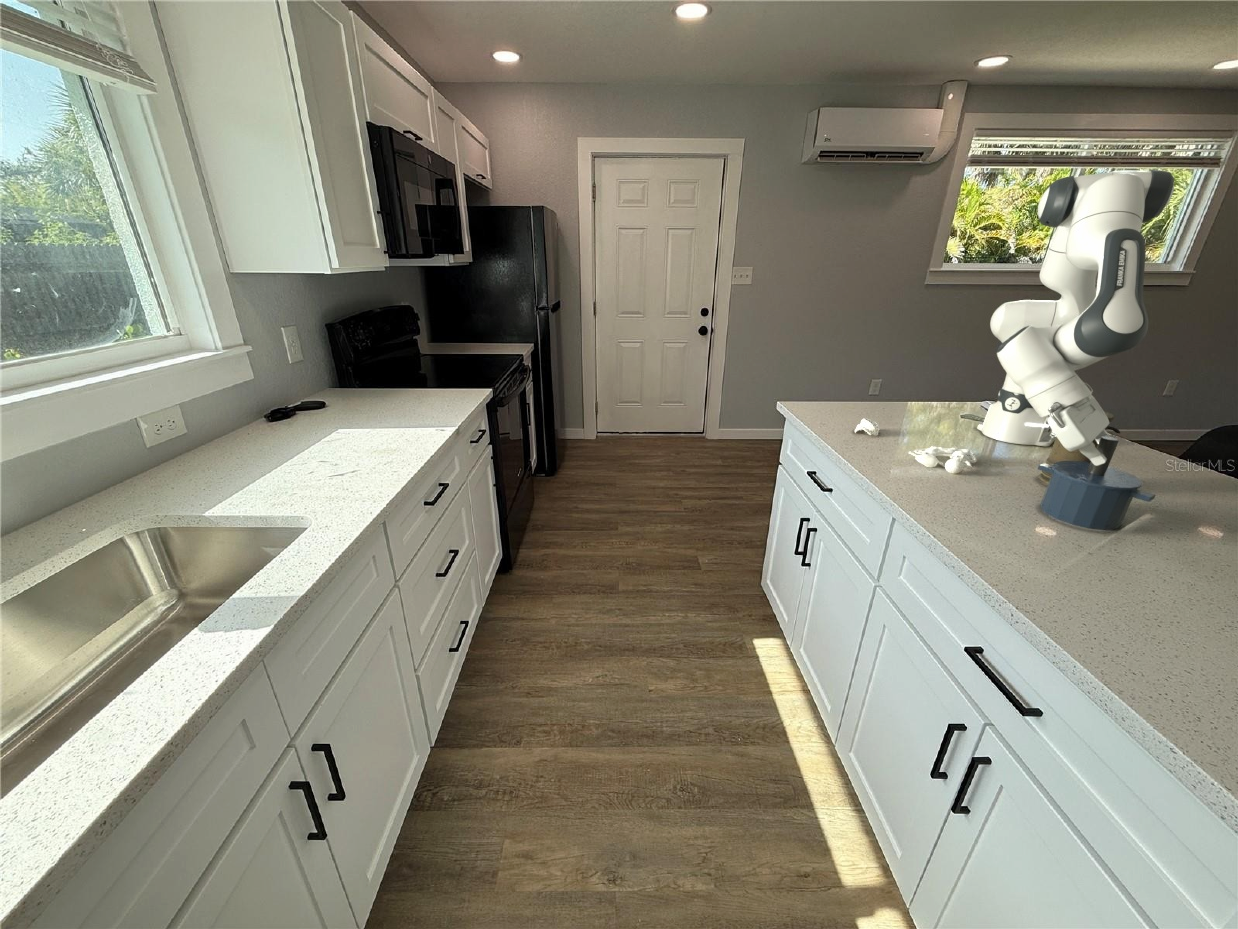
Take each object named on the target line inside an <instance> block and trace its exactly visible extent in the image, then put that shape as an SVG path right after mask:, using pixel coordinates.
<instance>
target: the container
mask: <svg viewBox="0 0 1238 929" xmlns="http://www.w3.org/2000/svg"><path fill="white" fill-rule="evenodd" d="M1104 412H1105V414H1106V416H1107V417H1108V420H1109V425H1108V426H1111V423H1110V422H1112V421H1114V418H1115V417H1114V414H1112V413H1111V412H1107V411H1104ZM1108 426H1107V427H1108ZM1107 427H1106V428H1105V430H1106V431H1107V430H1108V429H1107ZM1092 442H1093V443H1094V445H1095V447H1096V448H1097V446H1098V443H1097V441H1096V440H1095V439H1094V440H1093V441H1092ZM1059 461H1081V462H1089V463H1091V460H1090V459H1089V458H1087V457H1086V456H1085V455H1084V454H1082V453H1081V452H1080V451H1079V449H1077V450H1074V451H1068V450H1067V449H1066V448H1065V447H1064V446H1063V445H1062V444H1061V442H1060V441H1059V439H1058V438H1057V437H1056V439H1055V441H1054V442H1053V445H1052V447H1051V450H1050V453H1049V455H1048V458H1047V459H1046V462H1045V463H1046V464H1050V465H1053V464H1054V463H1055V462H1059ZM1040 472H1041V473H1040V474H1039V475H1038V477H1037V479H1038V480H1039V481H1040V482H1042V483H1043V484H1045V485H1048V483H1049V480H1050V478H1051V475H1052V473H1049V472H1046V471H1042V470H1040Z"/></svg>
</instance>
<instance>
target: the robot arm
mask: <svg viewBox="0 0 1238 929" xmlns="http://www.w3.org/2000/svg"><path fill="white" fill-rule="evenodd" d="M1174 191H1175V177H1174V175H1173V174H1172V172H1170V171H1167V170H1161V169H1160V170H1159V169H1151V170H1150V171H1146V170H1113V171H1112V170H1111V171H1110V172H1100V173H1099V172H1098V173H1091V174H1085V175H1077V176H1074V175H1069V176H1066V177H1061V178H1058V179H1056V180H1055V181H1053V182H1052V183H1050V184H1049V185H1048V187H1047V188H1046V190H1045V191H1044V193H1043V194H1042V195H1041V197H1040V199H1039V202H1038V205H1037V217H1038V222H1039V223H1040V224H1041V225H1042V226H1045V227H1049V228H1056V229H1055V231H1054V233H1053V236H1052V238H1051V240H1050V243H1049V246H1048V249H1047V251H1046V253H1045V254H1046V255H1045V258H1044V261H1043V263H1042V265H1041V268H1040V271H1039V280H1040V283H1042V285H1044V286H1045V287H1046V288H1048V289H1049V290H1052V291H1054V292H1056V293H1058V294H1060V295H1061V296H1060V298H1059V299H1058V300H1035V299H1032V300H1031V299H1023V300H1015V301H1008V302H1004V303H1002V304H1001V305H999V307H997V308H996V309H995V310H994V312H993V313H992V316H991V317H990V323H989V327H990V330H991V333H992V335H993V336H994V337H995V338H996V339H998V340H999V341H1000V342H1001V343H1000V345H999V346H998V347H997V350H996V356H997V359H998V361H999V363H1000V365H1001V367H1002V368H1003V370H1004V371H1005V373H1006V375H1005V379H1004V382H1003V385H1002V387H1000V389H999V391H998V395H997V398H996V399H997V401H995V402H993V403H991V404H990V405H989V407H988V410H987V413H986V415H985V418H984V421H983V423H982V424H978V425H977V426H976V429H977V430H978V431H980V432H981V433H982V434H983V435H984V436H986V437H988V438H990V439H993V440H997V441H1000V442H1004V443H1008V444H1009V443H1010V444H1016V445H1023V446H1024V445H1027V446H1039V447H1050V446H1052V444H1054V442H1055V439H1056V437H1057V438H1058V439H1059V441H1060V442H1061V444H1062V445H1063V446H1064V447H1065V448H1066V449H1067V450H1068V451H1074V450H1077V449H1079V451H1080V452H1081V453H1082V454H1084V455H1085V456H1086V457H1087V458H1089V459H1090V460H1091V462H1092V463H1093V464H1094V465H1096V466H1098V465H1101V464H1103V463H1105V462H1106V461H1107V459H1106V457H1105V456H1104V455H1103V453H1100V452H1099V451H1098V450H1097V448H1096V447H1095V445H1094V443H1093V442H1092V441H1093V440H1094V439H1095V440H1096V441H1097V443H1099V441H1100V438H1101V437H1102V436H1109V437H1110V435H1109V432H1108V431H1107V430H1111V431H1113V432H1114V433H1116V434H1121V431H1120V430H1119V429H1118V428H1116V427H1115V426H1111V425H1109V423H1110V422H1109V420H1108V417H1107V416H1106V414H1105V412H1106V411H1104V409H1103V408H1102V406H1101V405H1100V403H1099V402H1098V401H1097V399H1096V397H1095V396H1094V395H1093V392H1094V391H1093V389H1092V387H1091V385H1089V384H1088V383H1087V382H1084V381H1083V380H1082V379H1081V378H1080V376H1079V375H1078V374H1077V373H1076V371H1078V370H1081V369H1084V368H1086V367H1089V366H1091V365H1094V364H1096V363H1099V362H1100V361H1102V360H1105V359H1107V358H1109V357H1111V356H1115V355H1117V354H1120V353H1123V352H1126V351H1128V350H1131V349H1133V348H1134V347H1136V346H1138V345H1139V344H1140V343H1141V342H1142V341H1143V340H1144V338H1145V337H1146V335H1147V333H1148V329H1149V317H1148V313H1147V310H1146V306H1145V303H1144V282H1145V267H1146V240H1145V238H1144V235H1143V234H1142V233H1141V231H1142V225H1143V224H1144V223H1148V222H1151V221H1152V220H1153V219H1155V218H1157V217H1159V216H1160V215H1161V213H1162V212H1163V210H1165V208H1166V207H1167V206H1168V204H1170V201H1171V199H1172V197H1173V195H1174ZM1096 279H1097V281H1096ZM1096 282H1097V283H1096ZM1107 426H1108V427H1107ZM1106 427H1107V429H1106V430H1105V428H1106ZM1116 450H1117V448H1116V449H1115V451H1116Z"/></svg>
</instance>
